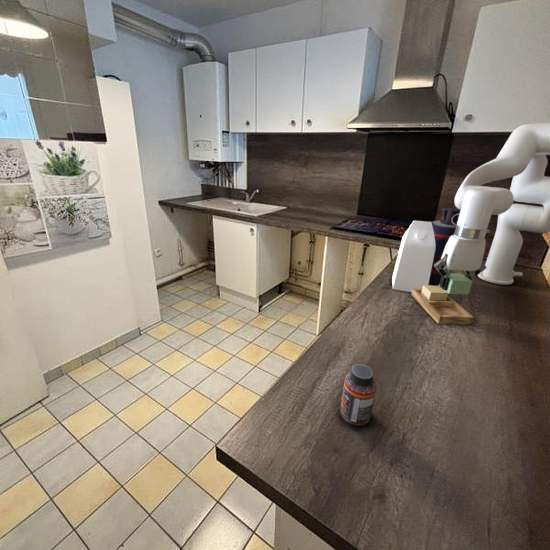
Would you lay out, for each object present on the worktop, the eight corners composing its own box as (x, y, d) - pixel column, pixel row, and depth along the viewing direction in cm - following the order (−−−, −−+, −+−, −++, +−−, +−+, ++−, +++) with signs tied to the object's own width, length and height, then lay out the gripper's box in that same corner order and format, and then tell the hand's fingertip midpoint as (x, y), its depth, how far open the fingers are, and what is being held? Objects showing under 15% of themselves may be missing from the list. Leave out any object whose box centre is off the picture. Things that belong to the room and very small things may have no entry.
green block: (457, 286, 95) (461, 273, 93) (468, 294, 89) (472, 281, 87) (438, 285, 95) (442, 273, 93) (448, 293, 89) (452, 280, 87)
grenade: (418, 283, 119) (435, 209, 108) (416, 272, 129) (432, 204, 118) (456, 289, 115) (478, 212, 103) (452, 278, 125) (472, 207, 113)
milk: (422, 282, 120) (438, 220, 110) (426, 294, 110) (443, 226, 100) (391, 278, 123) (403, 217, 113) (392, 289, 113) (405, 223, 103)
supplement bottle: (336, 403, 61) (342, 360, 57) (363, 402, 61) (371, 359, 57) (344, 428, 55) (352, 382, 51) (374, 426, 56) (384, 381, 52)
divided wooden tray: (438, 295, 109) (440, 289, 108) (471, 324, 91) (474, 317, 90) (411, 294, 109) (412, 288, 108) (438, 323, 91) (440, 316, 90)
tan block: (436, 296, 107) (439, 285, 105) (445, 304, 101) (448, 292, 100) (420, 296, 107) (422, 285, 105) (428, 304, 101) (430, 292, 100)
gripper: (490, 230, 88) (473, 284, 95) (433, 229, 88) (420, 283, 95) (508, 237, 81) (488, 294, 88) (447, 235, 81) (432, 293, 88)
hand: (453, 288), depth 92 cm, fingers closed on green block, 6 cm apart
